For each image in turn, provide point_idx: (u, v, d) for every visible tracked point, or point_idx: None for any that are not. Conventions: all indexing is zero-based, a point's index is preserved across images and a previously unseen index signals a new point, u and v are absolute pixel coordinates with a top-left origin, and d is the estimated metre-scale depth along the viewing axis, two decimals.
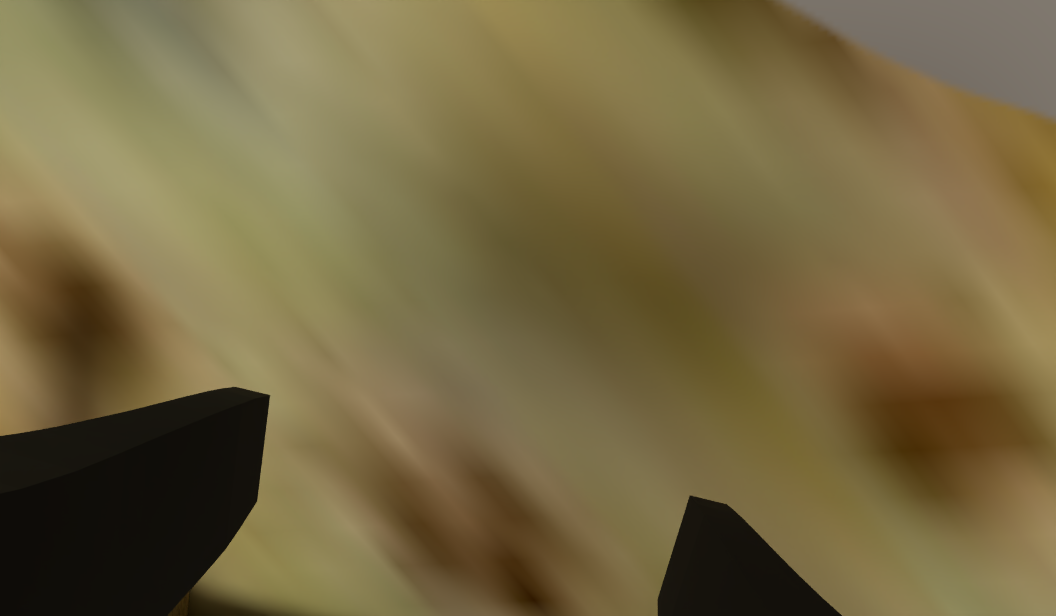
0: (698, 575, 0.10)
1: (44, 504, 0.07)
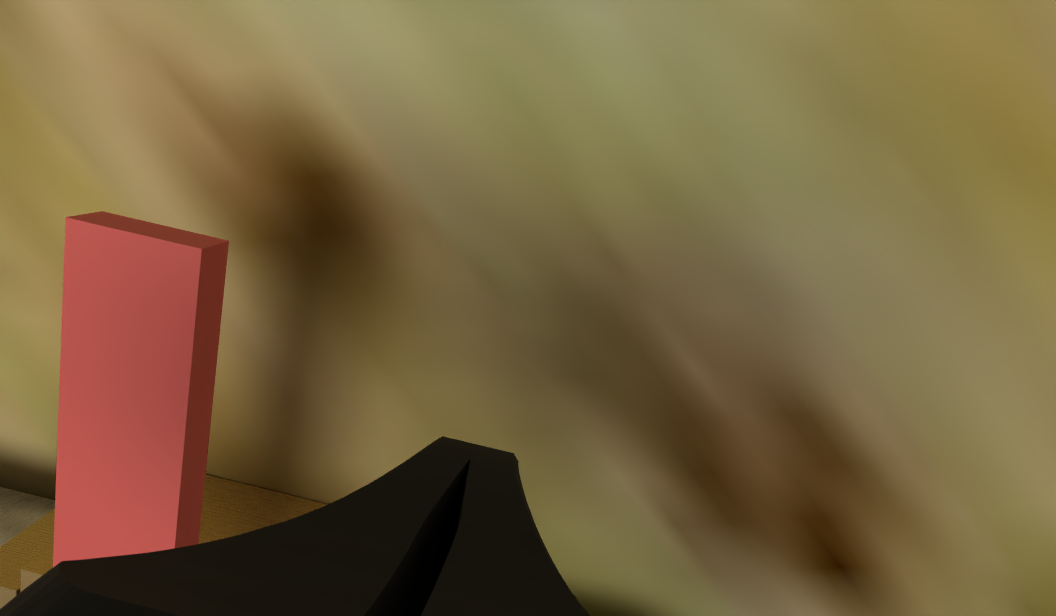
0: (458, 517, 0.10)
1: (392, 590, 0.07)
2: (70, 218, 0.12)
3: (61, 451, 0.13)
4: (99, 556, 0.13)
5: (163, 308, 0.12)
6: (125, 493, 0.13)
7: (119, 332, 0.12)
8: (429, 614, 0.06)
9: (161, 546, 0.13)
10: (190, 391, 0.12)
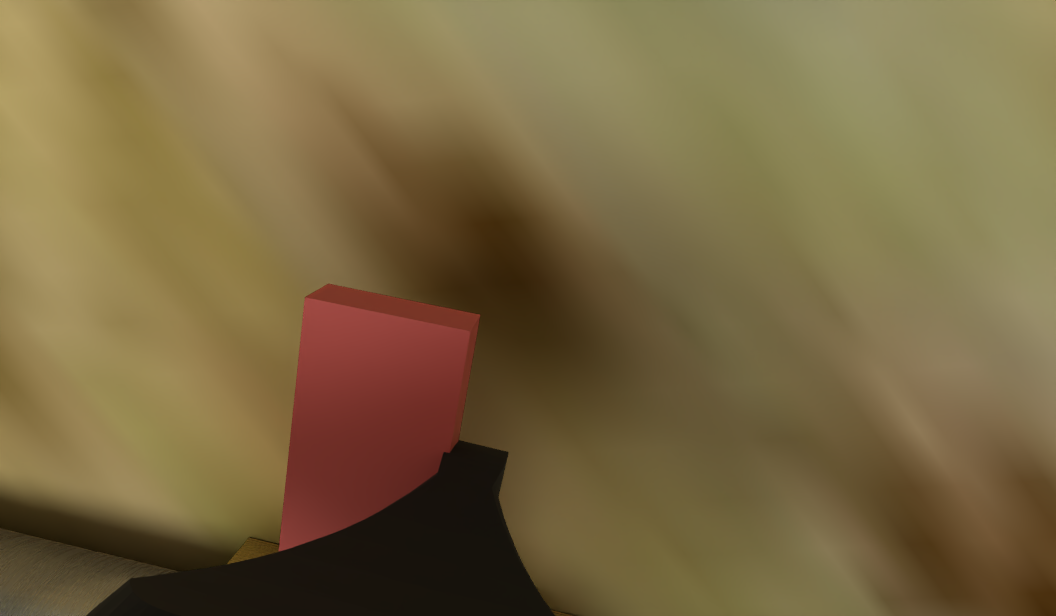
0: None
1: None
2: (309, 298, 0.10)
3: None
4: None
5: (418, 400, 0.10)
6: None
7: (362, 429, 0.10)
8: (381, 602, 0.06)
9: None
10: None
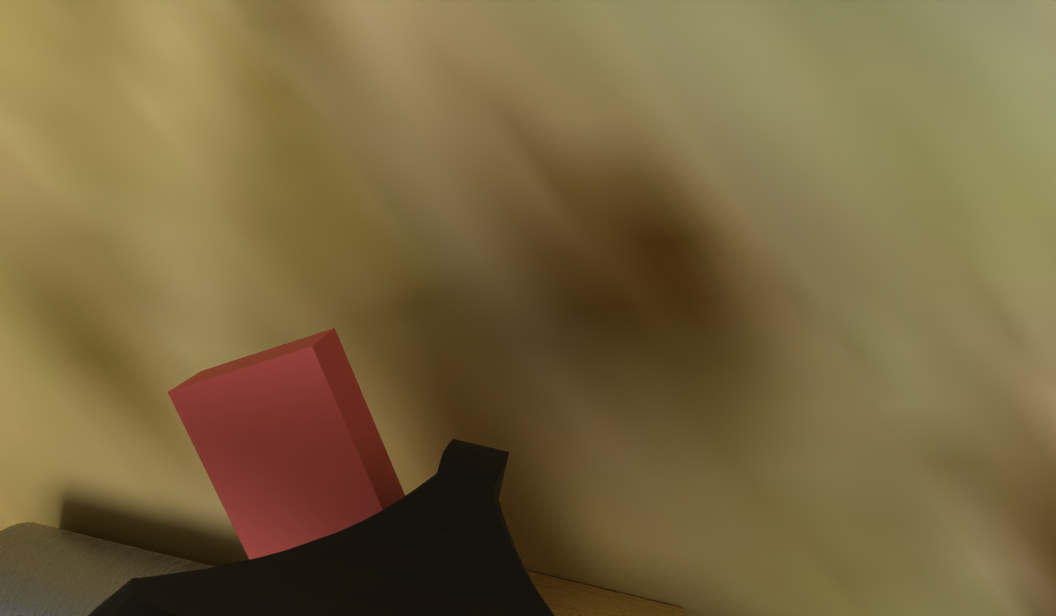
0: None
1: None
2: (172, 390, 0.10)
3: None
4: None
5: (309, 430, 0.10)
6: None
7: (280, 480, 0.11)
8: (380, 602, 0.06)
9: None
10: (382, 503, 0.11)
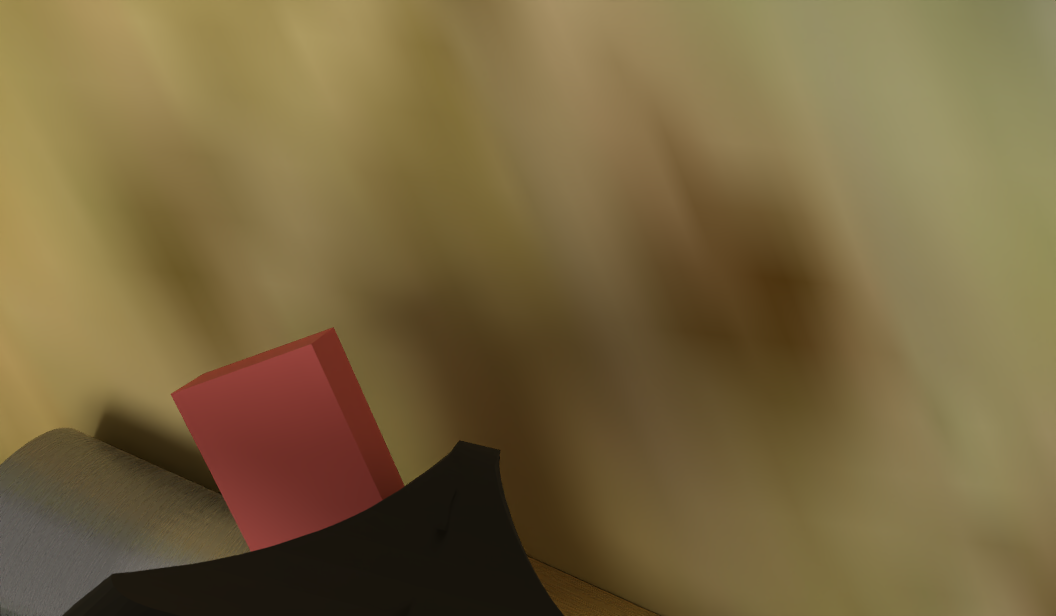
0: None
1: None
2: (175, 392, 0.10)
3: None
4: None
5: (310, 428, 0.10)
6: None
7: (283, 478, 0.11)
8: (394, 605, 0.06)
9: None
10: (384, 498, 0.11)
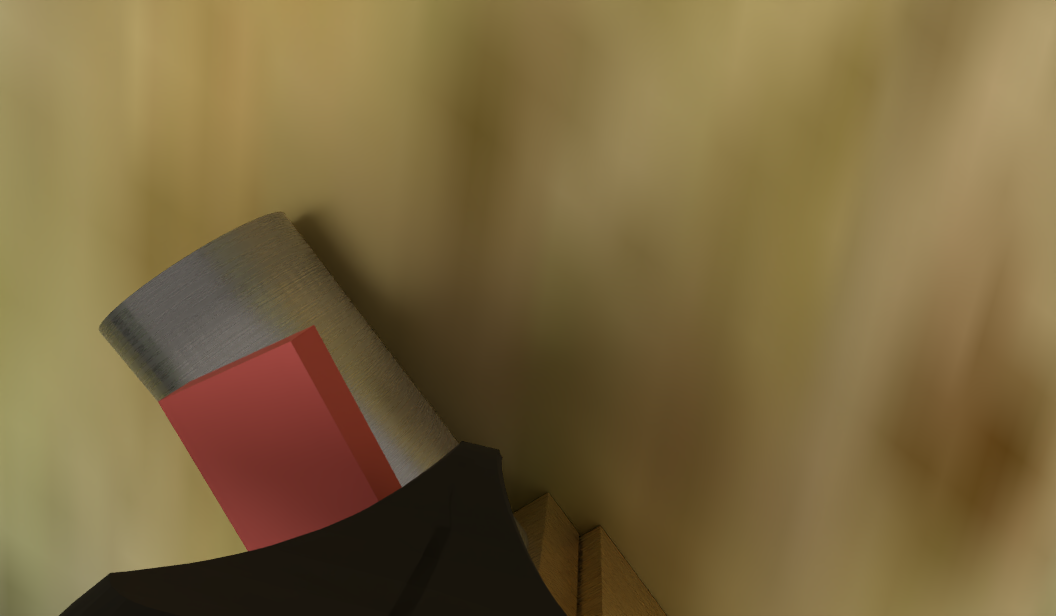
0: None
1: None
2: (162, 399, 0.11)
3: None
4: None
5: (296, 425, 0.10)
6: None
7: (274, 478, 0.11)
8: (398, 606, 0.06)
9: None
10: (375, 490, 0.11)
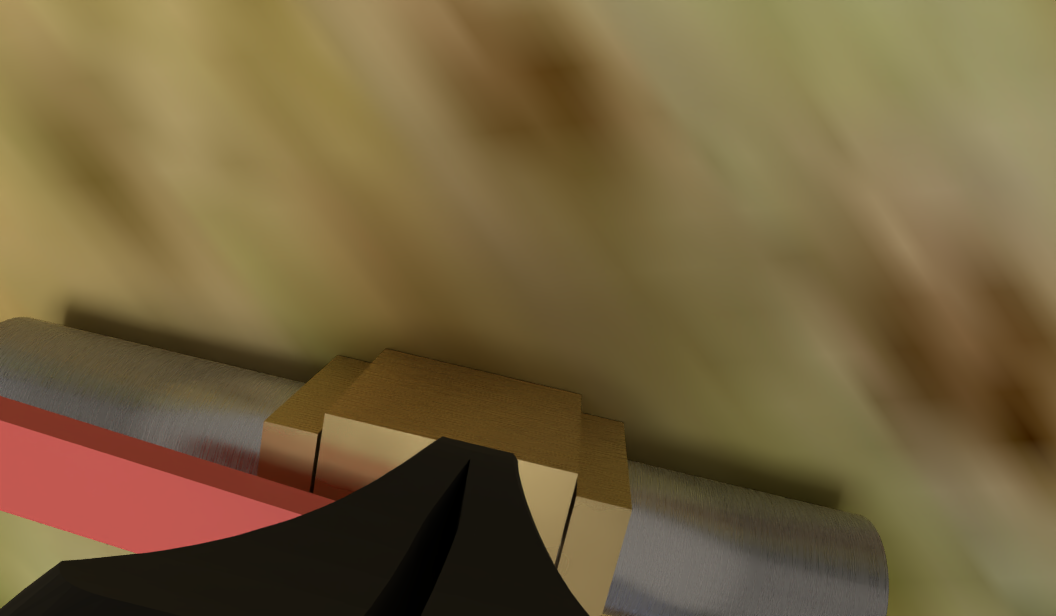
0: (458, 517, 0.10)
1: (393, 590, 0.07)
2: None
3: (101, 538, 0.17)
4: (185, 534, 0.16)
5: None
6: (128, 500, 0.16)
7: (1, 471, 0.17)
8: (429, 614, 0.06)
9: (170, 483, 0.16)
10: (41, 431, 0.16)
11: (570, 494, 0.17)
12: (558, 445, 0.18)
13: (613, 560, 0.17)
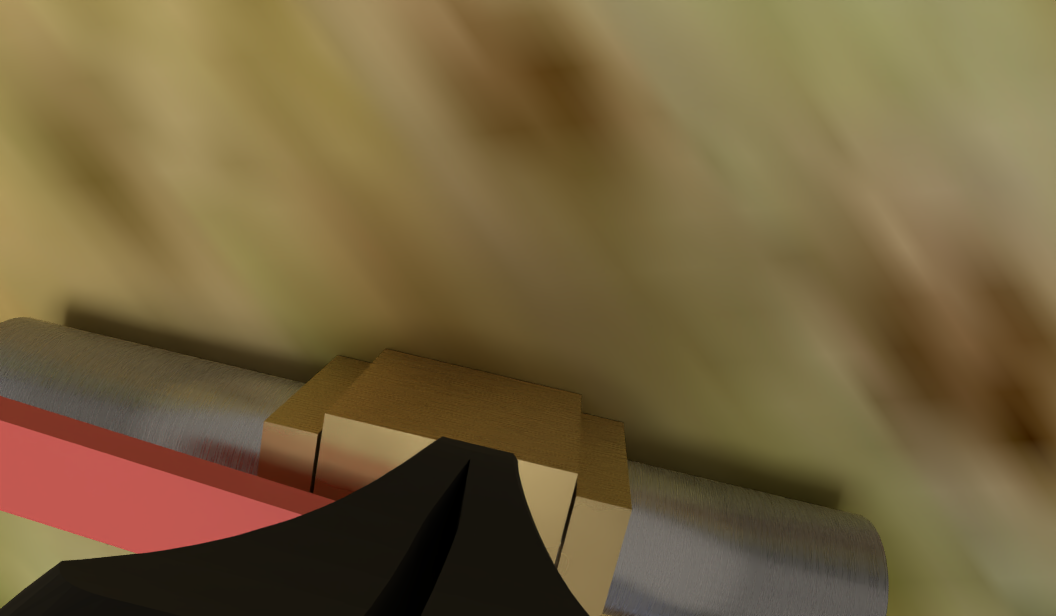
0: (458, 517, 0.10)
1: (392, 590, 0.07)
2: None
3: (101, 538, 0.17)
4: (186, 534, 0.16)
5: None
6: (128, 500, 0.16)
7: (1, 471, 0.17)
8: (429, 614, 0.06)
9: (170, 483, 0.16)
10: (42, 431, 0.16)
11: (570, 494, 0.17)
12: (558, 446, 0.18)
13: (613, 560, 0.18)
